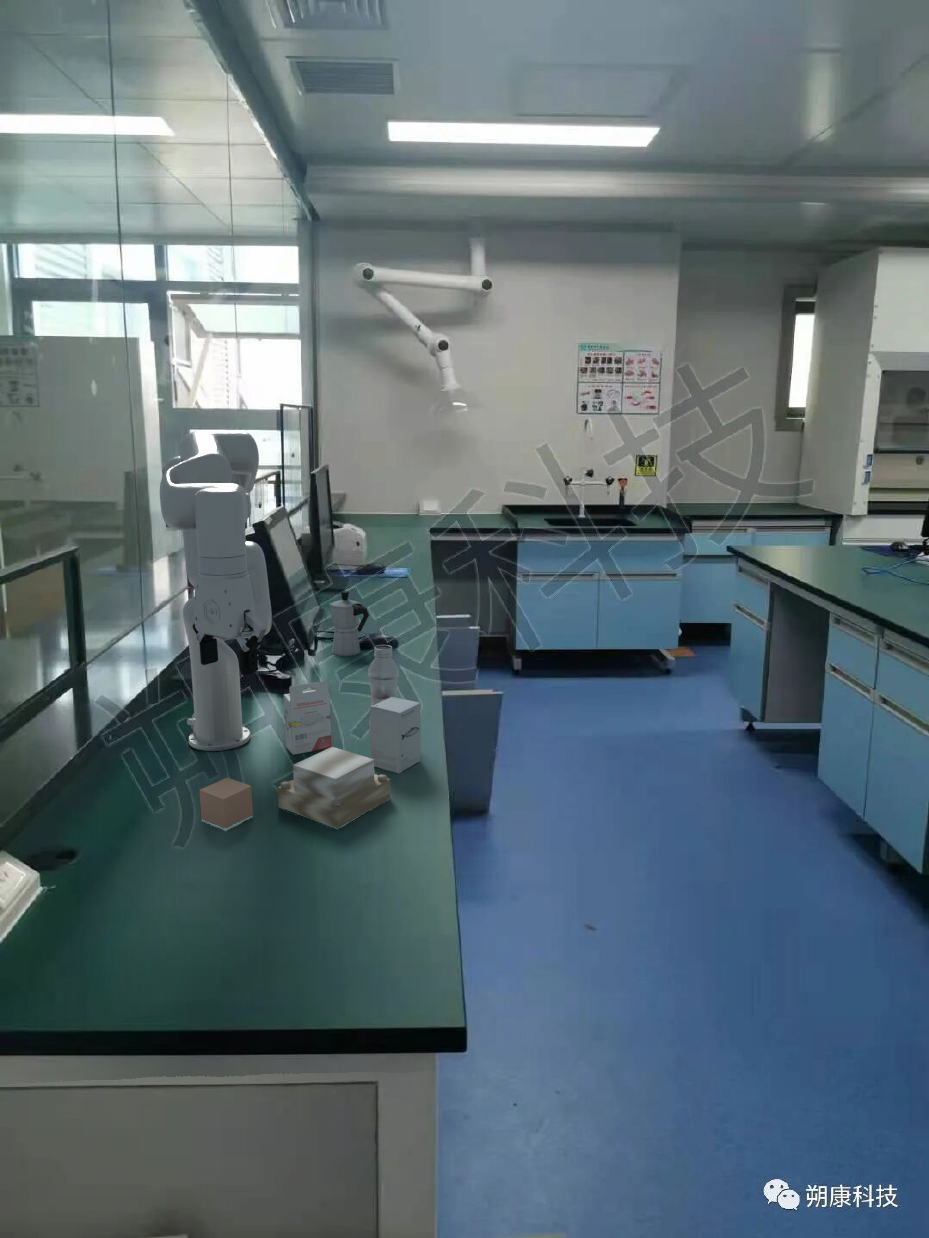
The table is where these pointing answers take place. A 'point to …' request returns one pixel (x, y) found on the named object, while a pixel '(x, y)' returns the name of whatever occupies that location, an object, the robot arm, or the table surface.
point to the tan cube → (226, 802)
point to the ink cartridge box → (307, 718)
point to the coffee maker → (347, 625)
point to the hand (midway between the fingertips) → (229, 667)
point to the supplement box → (395, 734)
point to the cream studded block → (334, 787)
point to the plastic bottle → (383, 675)
